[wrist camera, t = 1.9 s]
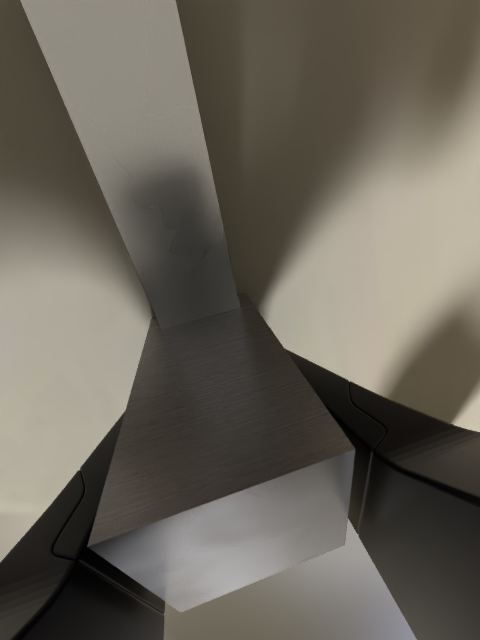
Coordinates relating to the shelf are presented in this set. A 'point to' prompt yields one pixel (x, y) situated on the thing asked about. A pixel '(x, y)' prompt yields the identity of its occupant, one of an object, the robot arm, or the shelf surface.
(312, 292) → the shelf surface
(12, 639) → the robot arm
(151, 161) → the grey bar
